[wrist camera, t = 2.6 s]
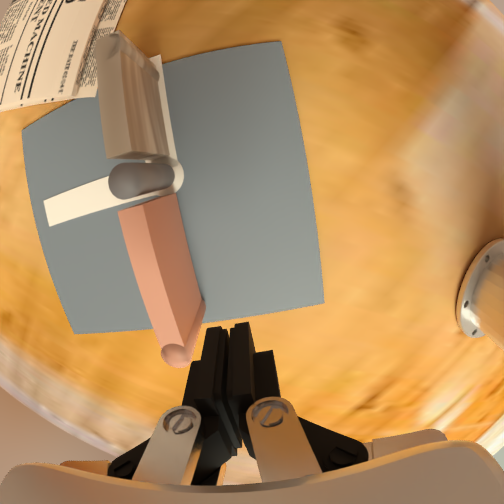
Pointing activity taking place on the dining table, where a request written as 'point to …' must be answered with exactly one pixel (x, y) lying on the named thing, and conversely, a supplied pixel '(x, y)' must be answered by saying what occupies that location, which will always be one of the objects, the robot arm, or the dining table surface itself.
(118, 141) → the fence fixed
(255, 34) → the dining table surface
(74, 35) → the newspaper
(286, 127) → the card
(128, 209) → the fence panel
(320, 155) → the dining table surface
